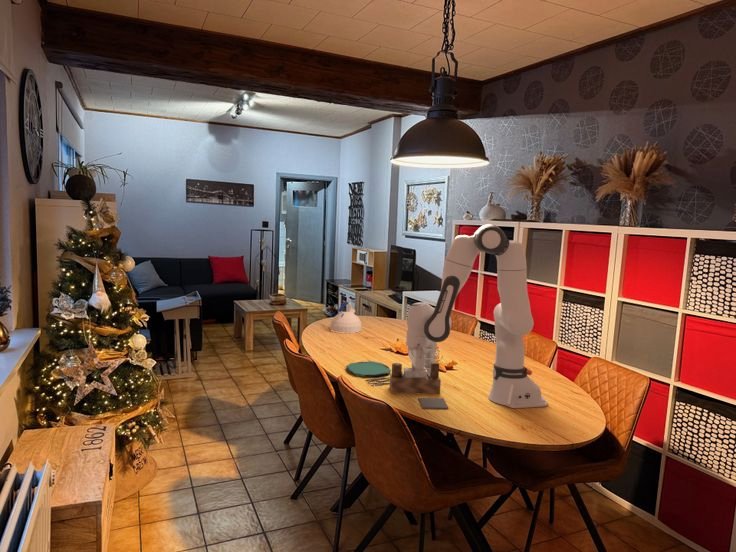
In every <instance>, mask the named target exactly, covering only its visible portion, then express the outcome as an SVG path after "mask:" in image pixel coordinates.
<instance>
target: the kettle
mask: <svg viewBox="0 0 736 552" xmlns="http://www.w3.org/2000/svg"><path fill="white" fill-rule="evenodd" d="M345 306H347V307H348V309H347V310H348V311H343V309H344V308H345ZM337 311H338V314H336V315H335V316H334V317H333V318H332V320H331V322H330V325H329V326H330V327H329V330H330V329H331V330H333V331H337V332H344V333H355V332H359V331H361V330H362V331H363V328H362V327H363V325H362V320H361V319H360V318H359V316H357V315H356V314H355V313H356V310H355V308H353V306H352V303H351V302H349V301H345V302H344V303H342V304H341V305H340V307H339V308H338V310H337ZM342 311H343V312H342ZM362 331H361V332H362ZM355 334H356V333H355Z"/></svg>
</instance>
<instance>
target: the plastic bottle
mask: <svg viewBox="0 0 736 552" xmlns="http://www.w3.org/2000/svg"><path fill="white" fill-rule="evenodd" d="M437 343H438V342H433V341H431V340H429V339H428V346H427V347H425V348H424V367H425V368H426V370H427V372H429V374H430V371H431V362H436V352H437V349H438V344H437Z"/></svg>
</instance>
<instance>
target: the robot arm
mask: <svg viewBox="0 0 736 552" xmlns="http://www.w3.org/2000/svg"><path fill="white" fill-rule="evenodd" d="M481 253H487V254H490V255H495V258H496V268H497V269H496V270H497V271H496V272H497V273H496V274H497V277H496V278H497V291H498V294H499V295H498V296H499V299H500V303H498V304H496V306H495V307H494V309H493V319H494V333H495V358H494V359H495V360H494V364H493V368H492V378H493V379H492V383H491V388H490V392H489V394H488V400H490V401H492V402H493V403H495V404H498V405H502V406H506V407H509V408H511V409H524V408H538V407H539V408H541V407H547V406H548V401H547V400H546V398H544V396H542V390H541V388H540V386H539V385H538V384H537V383H536V382H535V381H534V380H533V379H531V377H529V376H532V374H533V371H532V370H531V369H530V368H528V367H526V366H525V365H524V364H525V352H526V351H525V350H526V347H525V342H524V336H526V335H528V334H529V333H530V332H531V331H532V330H533V327H534V325H535V324H534V323H535V321H534V318H533V315H532V312H531V304H530V299H529V292H528V276H527V275H528V274H527V273H528V272H527V270H528V268H527V266H528V265H527V257H526V252H525V247H524V245H523V244H522V243H521V242H519V241H518V240H517V241H516V240H510V239H509V238H508V237H507V235H506V233H505V232H504V231H503V230H502V228H501V227H499V226H498V225H496V224H492V223H486V224H483V225H482V226H480V227H478V229H476V230H475V232H474V233H472V234H471V235H466V234H463V235H462V234H460V235H457V236H455V238H454V239H453V241H452V243H451V245H450V247H449V249H448V251H447V254H446V257H445V261H444V265H443V269H442V277H441V288H440V293H439V296H438V299H437V301H436V304H435V307H432V306H431V305H430V304H429V303H428V302H425V301H419V302H415V303H412V304H411V305H410V306H409V308H408V311H407V320H406V321H407V322H406V325H407V330H406V339H405V340H406V341H405V345H406V346H407V351H408V352H407V355H408V357H409V360H410V362H411V368H415V371H414V376H415V377H419V372H420V370H423V369H424V348H425V347H427V346H428V339H429V340H431V341H433V342H436V343H441V342H444V341H446V340H447V339H448V337H449V336H450V333H451V329H452V325H453V318H452V317H451V313H452V311H453V307H454V305H455V301H456V300H457V297H458V294H459V293H460V291H461V290H462V289H463V287H464V285H465V284H466V283H467V281H468V280H469V277H470V275H471V274H472V270H473V267H474V264H475V261H476V258H477V256H478V255H479V254H481Z"/></svg>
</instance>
